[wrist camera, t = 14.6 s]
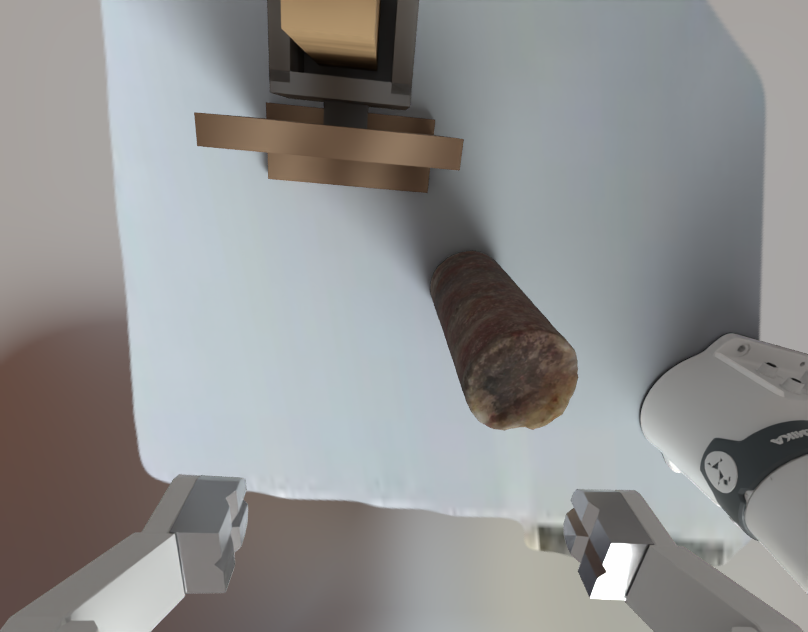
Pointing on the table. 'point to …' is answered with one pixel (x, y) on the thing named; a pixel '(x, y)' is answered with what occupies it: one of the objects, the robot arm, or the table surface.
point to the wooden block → (335, 31)
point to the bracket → (341, 115)
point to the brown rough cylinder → (501, 345)
